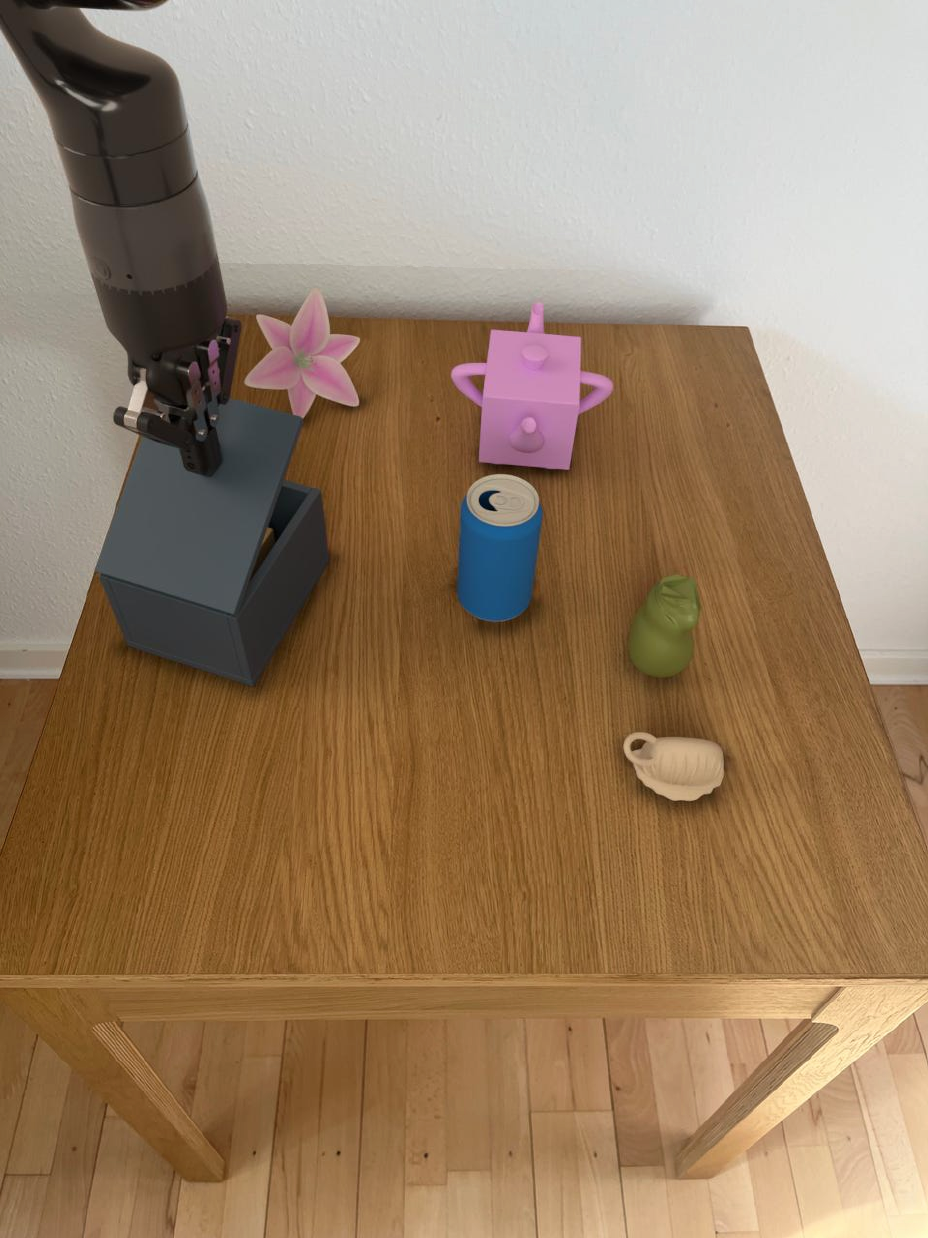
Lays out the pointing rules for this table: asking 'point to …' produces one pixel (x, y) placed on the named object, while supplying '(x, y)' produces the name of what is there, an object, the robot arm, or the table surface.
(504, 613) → the beverage can
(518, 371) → the teapot
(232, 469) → the lid
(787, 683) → the table surface
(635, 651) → the olive green lumpy piece
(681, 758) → the decorative ornament
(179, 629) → the chest
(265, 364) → the lily
